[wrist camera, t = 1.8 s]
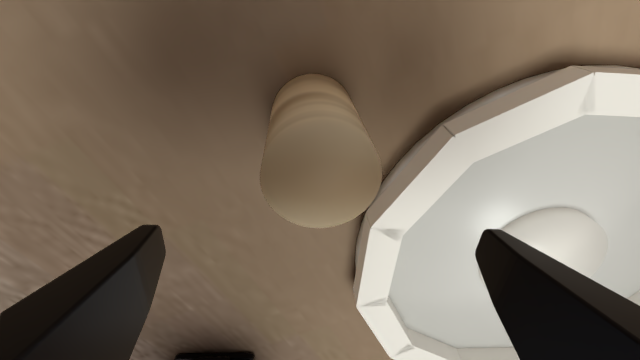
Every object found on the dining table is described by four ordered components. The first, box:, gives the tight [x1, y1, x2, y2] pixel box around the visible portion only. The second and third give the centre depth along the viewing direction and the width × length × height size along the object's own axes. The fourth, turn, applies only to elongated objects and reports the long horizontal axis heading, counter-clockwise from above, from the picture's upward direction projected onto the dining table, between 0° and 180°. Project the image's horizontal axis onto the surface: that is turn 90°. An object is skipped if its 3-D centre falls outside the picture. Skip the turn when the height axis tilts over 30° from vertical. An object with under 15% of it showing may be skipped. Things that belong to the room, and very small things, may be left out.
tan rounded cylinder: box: [260, 74, 382, 228], centre depth 15 cm, size 4×4×7 cm
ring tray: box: [353, 65, 640, 360], centre depth 23 cm, size 25×25×2 cm
